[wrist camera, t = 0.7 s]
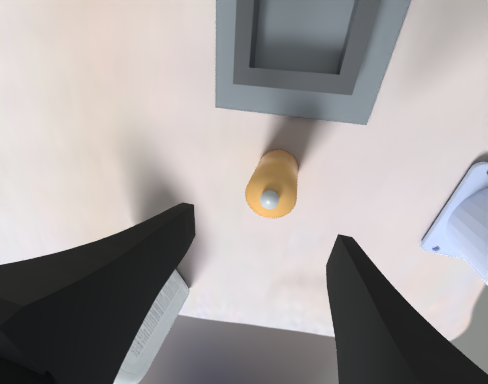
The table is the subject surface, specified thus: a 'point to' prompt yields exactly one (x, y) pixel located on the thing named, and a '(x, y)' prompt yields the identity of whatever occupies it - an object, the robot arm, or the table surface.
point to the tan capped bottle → (273, 185)
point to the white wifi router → (153, 330)
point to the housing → (305, 55)
